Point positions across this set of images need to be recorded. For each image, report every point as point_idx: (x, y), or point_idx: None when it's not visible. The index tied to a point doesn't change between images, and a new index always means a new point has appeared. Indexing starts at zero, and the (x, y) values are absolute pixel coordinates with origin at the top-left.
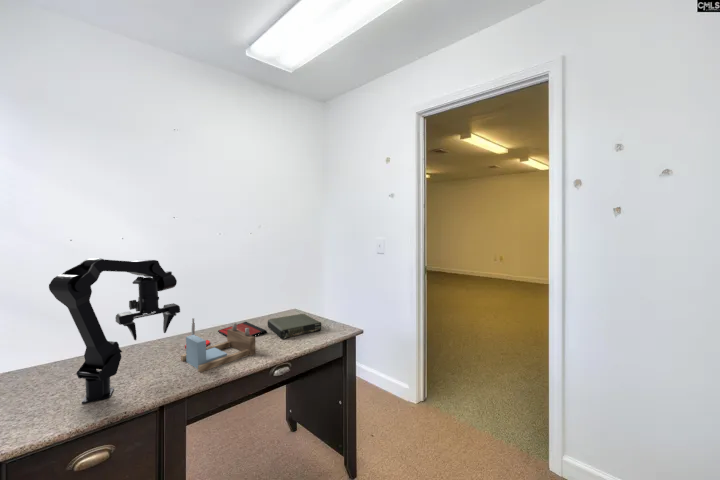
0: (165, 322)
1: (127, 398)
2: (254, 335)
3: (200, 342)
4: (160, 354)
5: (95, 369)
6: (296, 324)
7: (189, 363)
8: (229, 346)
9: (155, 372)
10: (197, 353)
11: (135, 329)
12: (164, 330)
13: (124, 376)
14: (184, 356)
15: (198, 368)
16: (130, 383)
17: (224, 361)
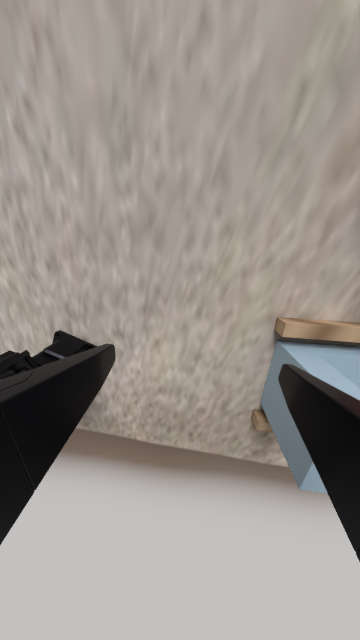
0: (345, 479)
1: (115, 403)
2: None
3: (309, 488)
4: (278, 186)
5: (23, 357)
6: None
7: (272, 360)
8: None
9: (191, 338)
10: (279, 442)
11: (49, 464)
12: (286, 396)
13: (131, 296)
14: (286, 336)
15: (255, 418)
16: (132, 349)
17: None
